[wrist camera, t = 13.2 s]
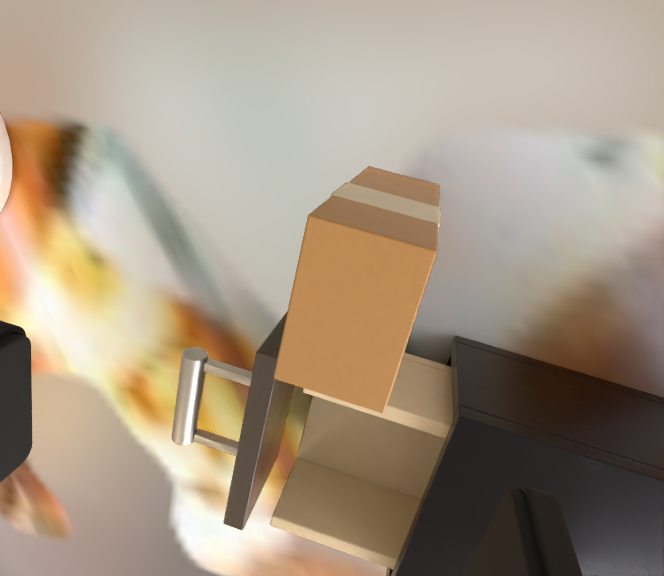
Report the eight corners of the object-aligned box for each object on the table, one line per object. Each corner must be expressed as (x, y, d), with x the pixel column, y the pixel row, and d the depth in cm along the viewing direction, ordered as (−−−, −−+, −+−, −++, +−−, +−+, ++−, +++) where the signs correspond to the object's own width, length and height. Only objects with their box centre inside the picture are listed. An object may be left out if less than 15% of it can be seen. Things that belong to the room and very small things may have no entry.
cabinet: (395, 494, 34) (382, 606, 26) (455, 334, 29) (459, 416, 21) (613, 568, 32) (666, 711, 25) (715, 412, 27) (821, 531, 20)
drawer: (198, 429, 34) (147, 496, 28) (220, 280, 30) (166, 322, 24) (454, 517, 32) (457, 609, 26) (519, 371, 28) (539, 441, 22)
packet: (341, 267, 29) (271, 379, 17) (367, 164, 27) (306, 211, 15) (409, 286, 28) (384, 416, 17) (441, 184, 26) (440, 249, 14)
